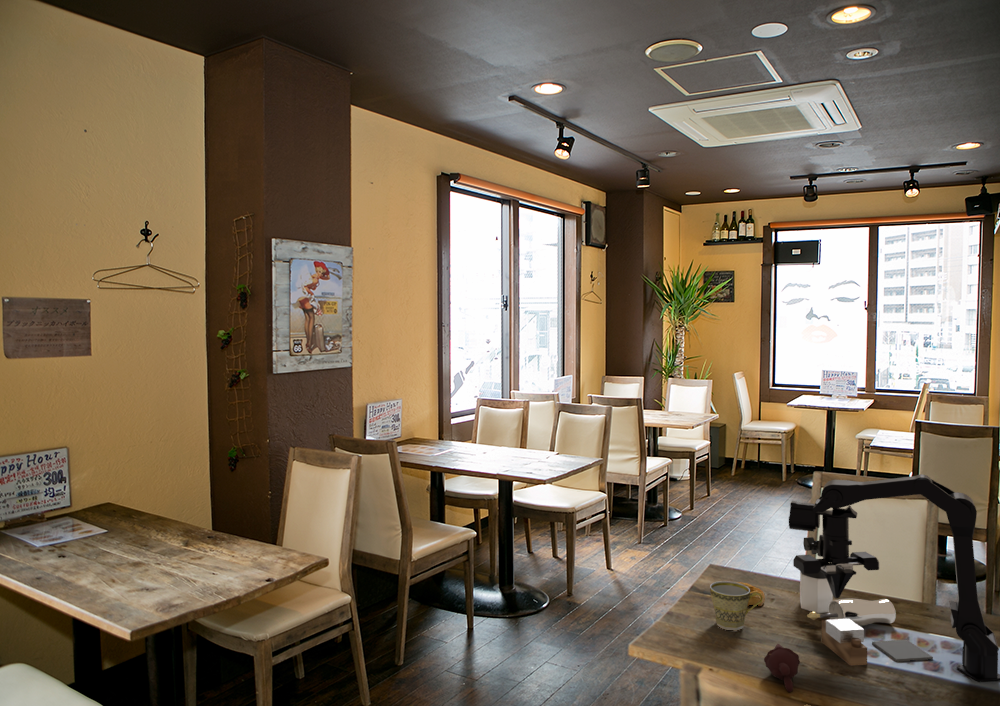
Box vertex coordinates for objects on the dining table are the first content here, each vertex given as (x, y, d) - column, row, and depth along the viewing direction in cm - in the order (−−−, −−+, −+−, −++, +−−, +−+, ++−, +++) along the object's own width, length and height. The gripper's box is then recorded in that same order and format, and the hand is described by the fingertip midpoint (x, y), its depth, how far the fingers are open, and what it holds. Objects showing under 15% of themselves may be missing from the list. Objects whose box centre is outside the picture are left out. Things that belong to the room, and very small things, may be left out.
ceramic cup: (710, 632, 179) (710, 593, 179) (708, 616, 189) (708, 579, 188) (764, 637, 176) (765, 598, 176) (759, 620, 186) (760, 583, 185)
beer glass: (900, 610, 179) (848, 613, 177) (891, 631, 182) (839, 634, 180) (883, 591, 186) (832, 593, 183) (874, 610, 188) (824, 613, 186)
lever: (838, 619, 173) (837, 610, 173) (822, 620, 172) (820, 611, 173) (820, 619, 181) (818, 611, 182) (804, 620, 181) (802, 611, 181)
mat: (932, 659, 164) (932, 656, 164) (896, 661, 163) (896, 659, 163) (906, 641, 173) (906, 639, 173) (872, 644, 172) (872, 641, 172)
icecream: (757, 632, 164) (764, 668, 150) (790, 628, 162) (801, 664, 148) (765, 660, 165) (773, 699, 150) (798, 656, 163) (809, 695, 148)
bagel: (754, 611, 192) (754, 594, 192) (718, 600, 200) (718, 583, 200) (771, 601, 199) (771, 585, 198) (736, 591, 207) (736, 575, 207)
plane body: (867, 664, 162) (867, 640, 161) (850, 665, 161) (850, 641, 161) (837, 641, 173) (837, 618, 173) (821, 642, 173) (821, 619, 173)
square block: (863, 642, 164) (864, 629, 164) (840, 643, 164) (840, 630, 163) (848, 630, 170) (848, 618, 170) (825, 632, 170) (825, 619, 169)
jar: (798, 599, 200) (799, 557, 199) (830, 602, 197) (830, 560, 196) (800, 611, 191) (800, 568, 191) (833, 615, 188) (834, 571, 188)
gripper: (853, 522, 179) (854, 583, 179) (782, 526, 177) (783, 587, 178) (880, 535, 168) (880, 600, 168) (804, 539, 166) (805, 604, 167)
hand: (836, 597), depth 171 cm, fingers closed
